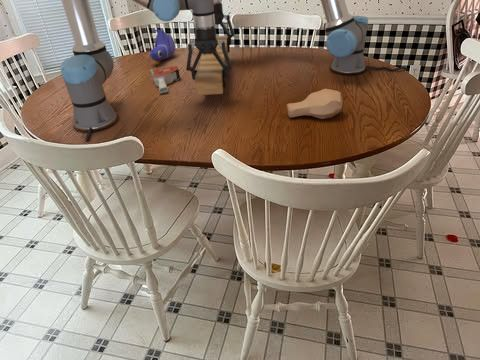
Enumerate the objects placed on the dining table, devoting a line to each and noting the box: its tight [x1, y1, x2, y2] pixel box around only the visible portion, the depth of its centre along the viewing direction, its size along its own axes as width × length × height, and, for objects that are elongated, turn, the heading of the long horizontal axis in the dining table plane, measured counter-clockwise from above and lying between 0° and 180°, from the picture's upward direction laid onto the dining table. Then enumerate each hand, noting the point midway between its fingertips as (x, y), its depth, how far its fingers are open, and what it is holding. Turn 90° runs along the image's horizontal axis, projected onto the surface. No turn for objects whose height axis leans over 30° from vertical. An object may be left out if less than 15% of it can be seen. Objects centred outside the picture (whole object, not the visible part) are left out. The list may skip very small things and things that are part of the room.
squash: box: [285, 88, 344, 120], centre depth 126 cm, size 11×20×9 cm, turn 92°
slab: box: [194, 35, 229, 96], centre depth 157 cm, size 58×10×7 cm, turn 179°
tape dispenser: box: [149, 65, 181, 94], centre depth 160 cm, size 18×5×20 cm
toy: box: [148, 28, 176, 66], centre depth 186 cm, size 10×17×25 cm
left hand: (211, 86), depth 140 cm, fingers closed on slab, 10 cm apart
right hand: (218, 52), depth 177 cm, fingers closed on slab, 10 cm apart
